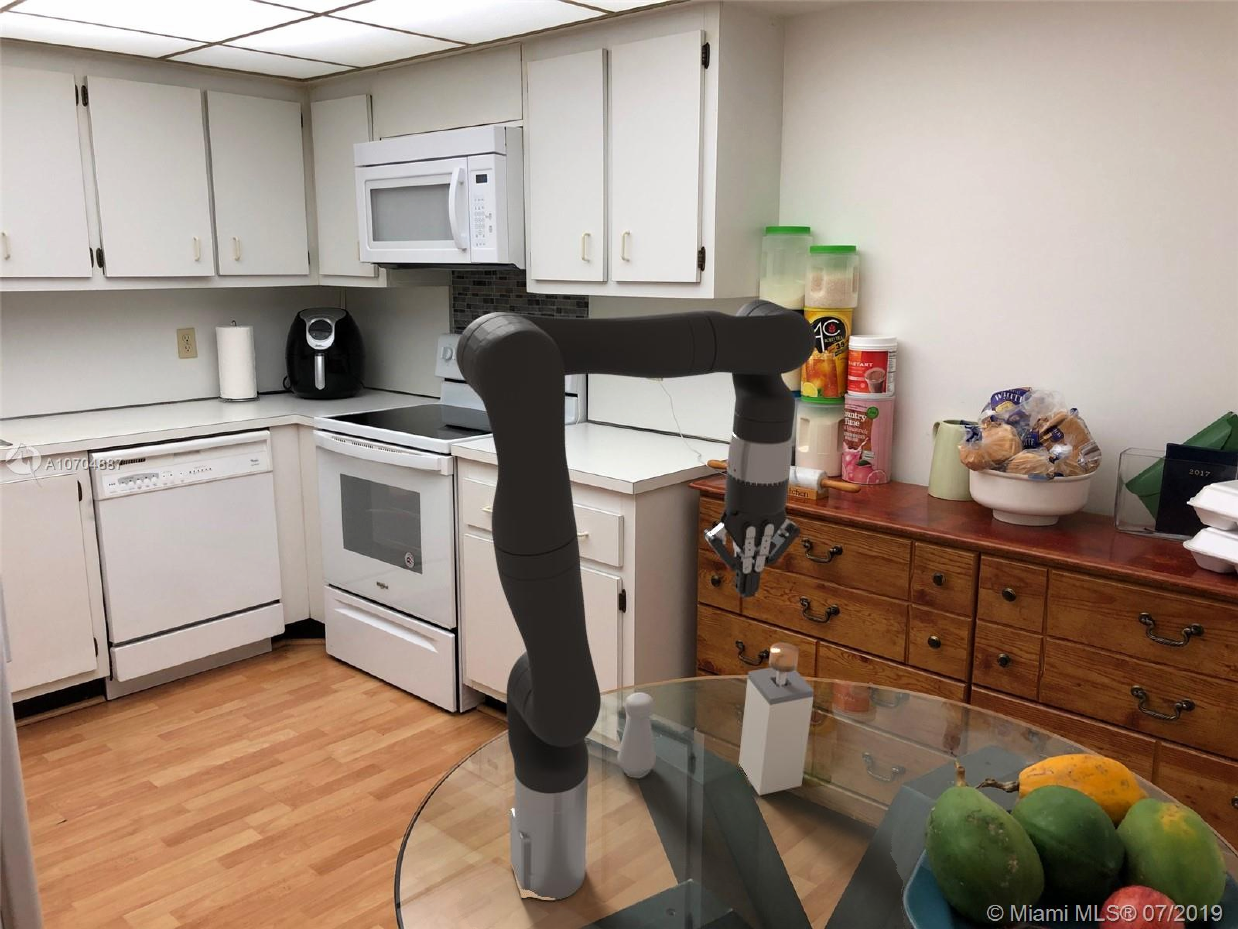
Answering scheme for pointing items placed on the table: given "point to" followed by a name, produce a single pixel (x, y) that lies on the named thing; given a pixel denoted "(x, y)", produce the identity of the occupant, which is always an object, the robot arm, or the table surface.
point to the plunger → (783, 660)
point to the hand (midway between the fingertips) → (745, 594)
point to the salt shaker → (637, 736)
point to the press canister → (775, 730)
